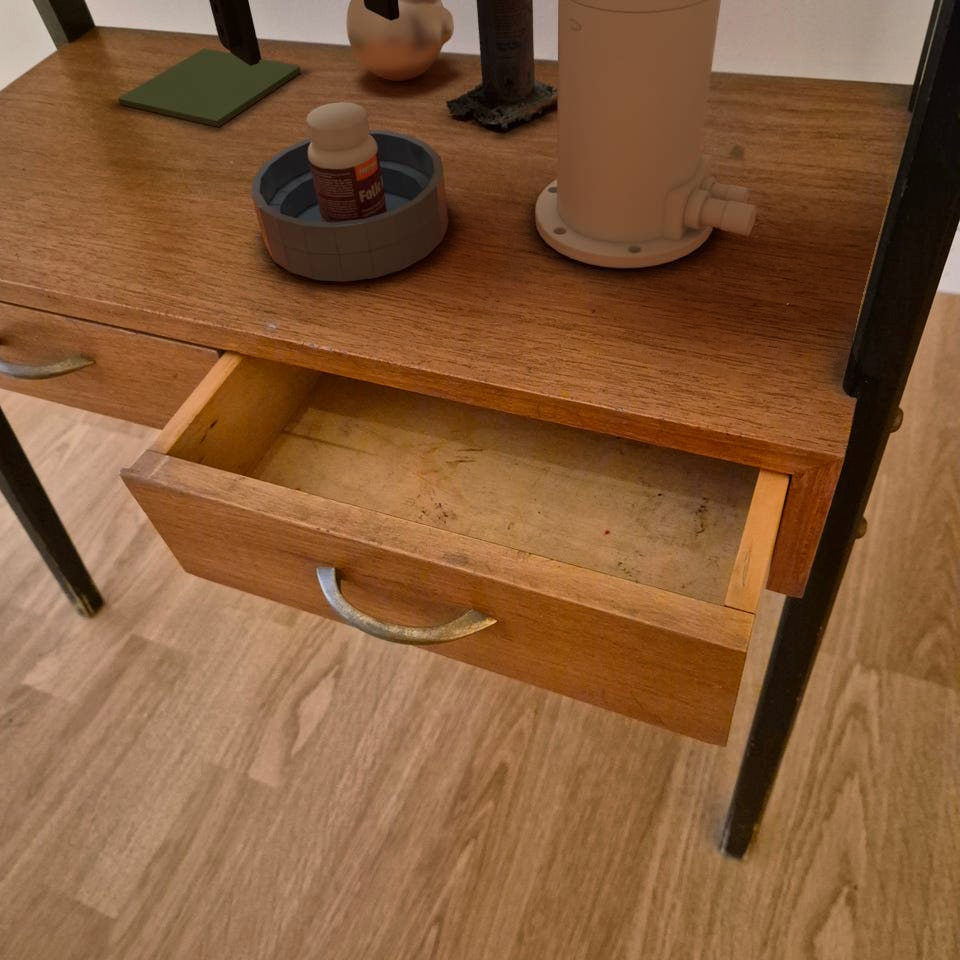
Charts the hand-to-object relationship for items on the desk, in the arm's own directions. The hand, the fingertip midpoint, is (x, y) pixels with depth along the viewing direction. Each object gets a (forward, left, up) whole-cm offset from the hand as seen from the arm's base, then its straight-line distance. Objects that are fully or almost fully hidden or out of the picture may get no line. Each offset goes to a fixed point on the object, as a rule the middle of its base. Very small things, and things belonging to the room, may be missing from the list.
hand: (316, 35), depth 54 cm
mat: (+27, -15, -14) cm, 34 cm away
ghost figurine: (+11, -24, -14) cm, 30 cm away
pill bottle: (0, 0, -14) cm, 14 cm away
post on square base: (-1, -22, -14) cm, 26 cm away
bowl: (0, 0, -14) cm, 14 cm away
